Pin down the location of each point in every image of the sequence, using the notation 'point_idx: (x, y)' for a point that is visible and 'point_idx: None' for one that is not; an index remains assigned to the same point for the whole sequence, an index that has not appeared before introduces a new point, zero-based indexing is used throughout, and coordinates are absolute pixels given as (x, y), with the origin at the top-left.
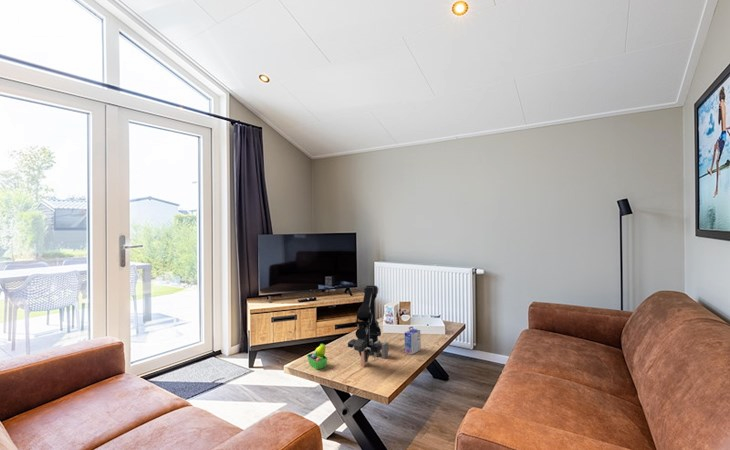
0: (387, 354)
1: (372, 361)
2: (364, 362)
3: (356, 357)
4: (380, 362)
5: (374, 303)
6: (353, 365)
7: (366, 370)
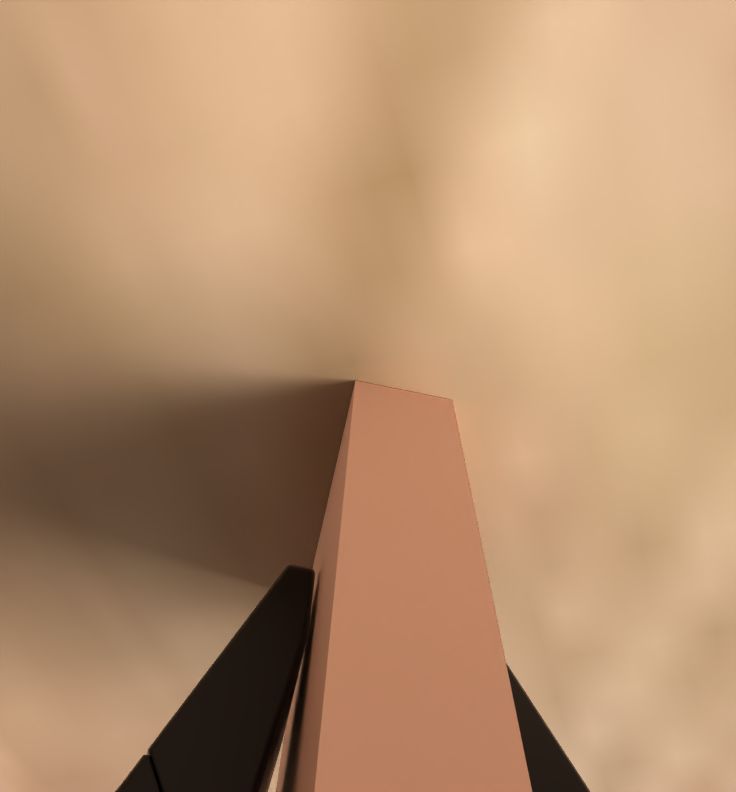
0: None
1: None
2: (334, 509)
3: (680, 779)
4: (39, 696)
5: None
6: (726, 390)
7: (140, 126)
